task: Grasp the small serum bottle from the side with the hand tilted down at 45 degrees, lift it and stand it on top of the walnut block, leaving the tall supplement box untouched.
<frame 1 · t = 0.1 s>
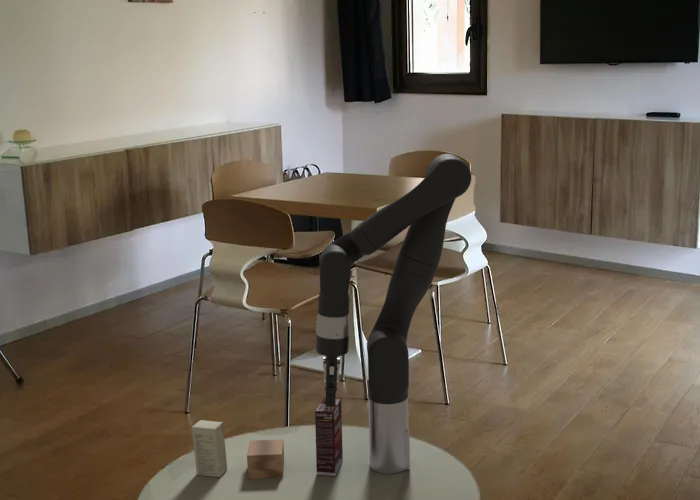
hand: (330, 399, 203), 17 cm above the table, tool pointing down, fingers open, 8 cm apart
supplement box: (330, 468, 207), on the table
walnut block: (266, 470, 206), on the table
skincare box: (211, 473, 206), on the table
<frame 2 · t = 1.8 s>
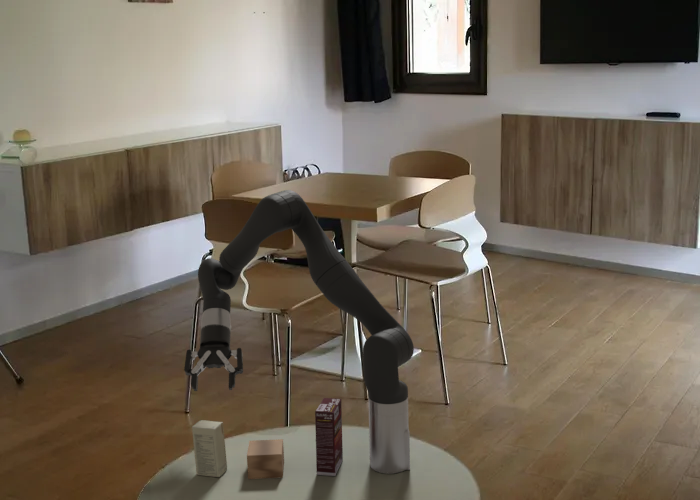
hand: (213, 389, 214), 16 cm above the table, tool tilted 45°, fingers open, 8 cm apart
nothing on the table moved.
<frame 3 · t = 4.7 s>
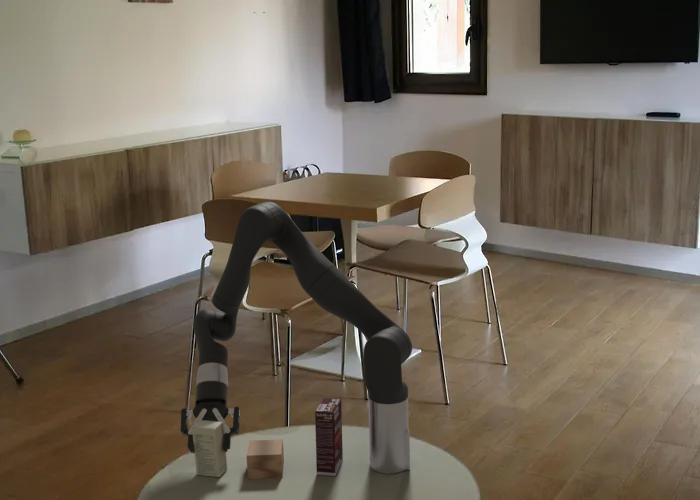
hand: (208, 451, 203), 6 cm above the table, tool tilted 45°, fingers closed on skincare box, 7 cm apart
skincare box: (211, 473, 206), on the table, touching gripper
everything else where it was.
when the fingers open (13 cm above the table, at t = 9.4 s): skincare box stays where it is, point 6 cm above the table.
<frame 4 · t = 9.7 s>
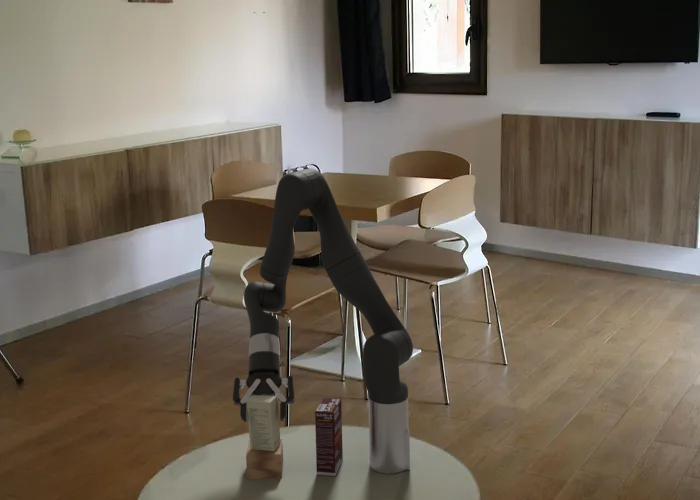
hand: (263, 420, 202), 13 cm above the table, tool tilted 45°, fingers open, 8 cm apart
skincare box: (265, 447, 205), point 6 cm above the table
everything else where it was.
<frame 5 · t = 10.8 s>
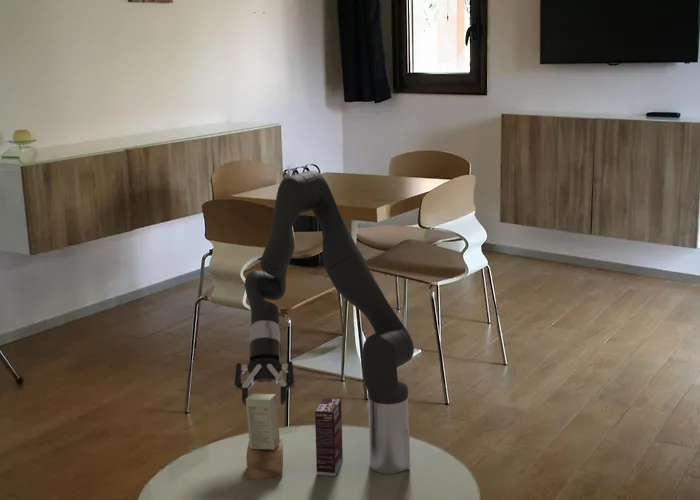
hand: (264, 404, 209), 14 cm above the table, tool tilted 45°, fingers open, 8 cm apart
walnut block: (265, 470, 206), on the table, touching skincare box
skincare box: (264, 447, 205), point 6 cm above the table, touching walnut block
everything else where it was.
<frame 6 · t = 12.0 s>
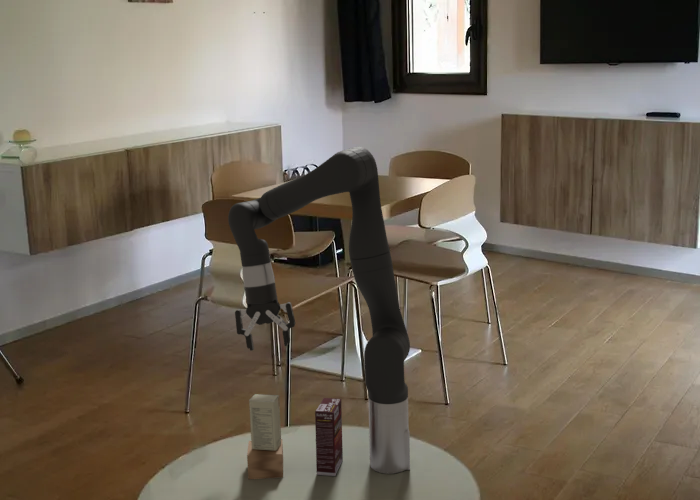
hand: (269, 347, 214), 25 cm above the table, tool pointing down, fingers open, 8 cm apart
walnut block: (266, 470, 206), on the table
skincare box: (266, 447, 205), point 6 cm above the table
everything else where it was.
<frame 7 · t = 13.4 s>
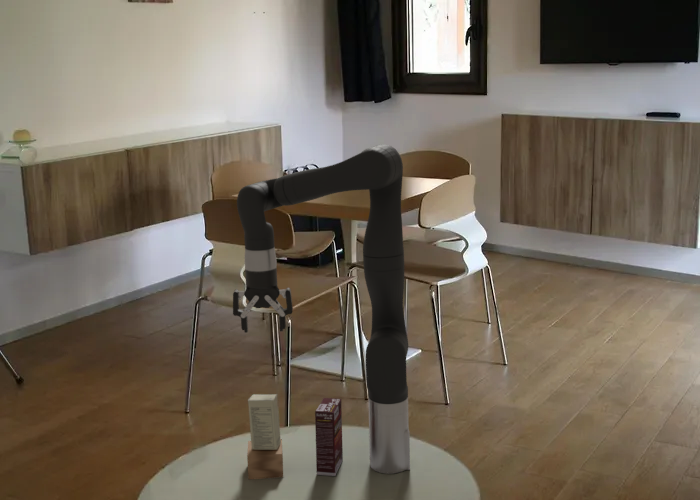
hand: (264, 331, 212), 30 cm above the table, tool pointing down, fingers open, 8 cm apart
walnut block: (266, 471, 206), on the table, touching skincare box
skincare box: (265, 447, 205), point 6 cm above the table, touching walnut block
everything else where it was.
at the end: skincare box inside the target area on the walnut block (0.4 cm from its centre), point 5.9 cm above the walnut block's base; skincare box tilted 3°; the gripper is holding nothing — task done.
